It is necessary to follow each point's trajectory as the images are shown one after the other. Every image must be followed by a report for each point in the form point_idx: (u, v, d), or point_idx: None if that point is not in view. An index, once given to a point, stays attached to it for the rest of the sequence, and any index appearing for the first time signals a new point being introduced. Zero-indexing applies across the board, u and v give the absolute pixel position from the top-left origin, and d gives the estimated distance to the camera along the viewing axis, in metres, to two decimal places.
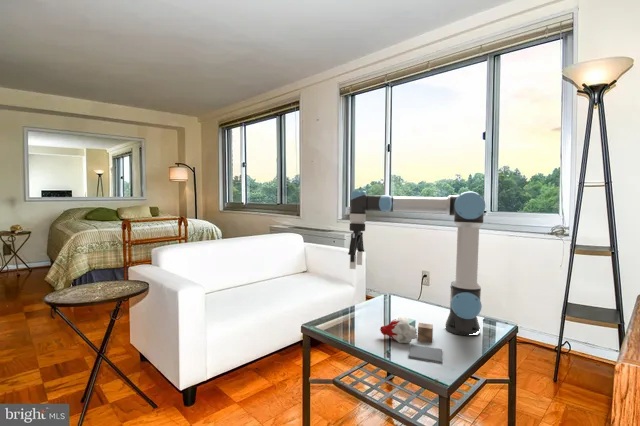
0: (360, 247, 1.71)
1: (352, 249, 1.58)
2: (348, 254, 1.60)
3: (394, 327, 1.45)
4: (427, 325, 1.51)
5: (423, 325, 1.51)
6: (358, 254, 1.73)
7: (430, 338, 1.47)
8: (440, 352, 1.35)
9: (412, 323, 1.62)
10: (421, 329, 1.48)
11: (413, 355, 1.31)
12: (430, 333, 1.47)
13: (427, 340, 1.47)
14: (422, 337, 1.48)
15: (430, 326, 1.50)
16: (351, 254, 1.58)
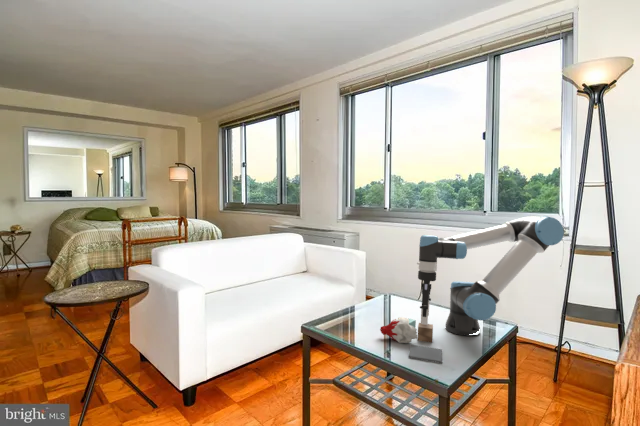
0: None
1: (425, 303, 1.41)
2: None
3: (394, 327, 1.45)
4: (427, 325, 1.51)
5: (423, 325, 1.51)
6: None
7: (430, 338, 1.47)
8: (440, 352, 1.35)
9: (412, 323, 1.62)
10: (421, 329, 1.48)
11: (413, 355, 1.31)
12: (430, 333, 1.47)
13: (427, 340, 1.47)
14: (422, 337, 1.48)
15: (430, 326, 1.50)
16: (423, 308, 1.42)
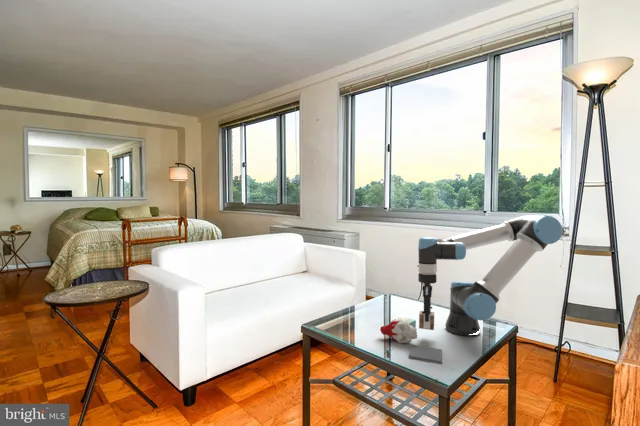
0: (429, 302, 1.53)
1: (427, 309, 1.44)
2: None
3: (394, 327, 1.45)
4: None
5: None
6: None
7: (431, 325, 1.47)
8: (440, 352, 1.35)
9: (412, 323, 1.62)
10: (422, 317, 1.48)
11: (413, 355, 1.31)
12: (431, 320, 1.47)
13: None
14: None
15: (431, 313, 1.50)
16: (426, 313, 1.46)
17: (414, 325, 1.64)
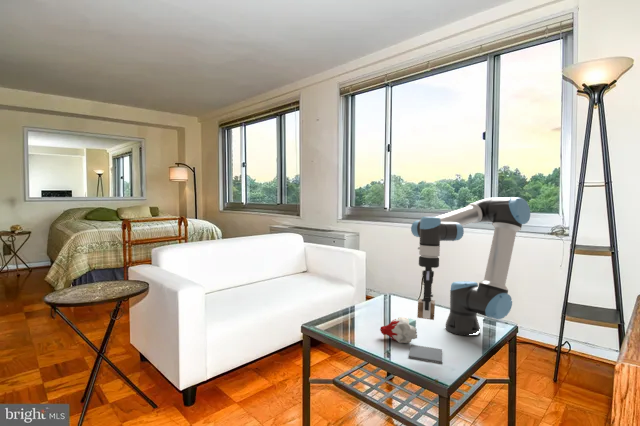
0: None
1: (427, 296, 1.28)
2: None
3: (394, 327, 1.45)
4: None
5: None
6: None
7: (432, 315, 1.31)
8: (440, 352, 1.35)
9: (412, 323, 1.62)
10: (421, 305, 1.32)
11: (413, 355, 1.31)
12: (432, 309, 1.31)
13: None
14: None
15: (432, 301, 1.34)
16: (426, 301, 1.29)
17: (414, 325, 1.63)
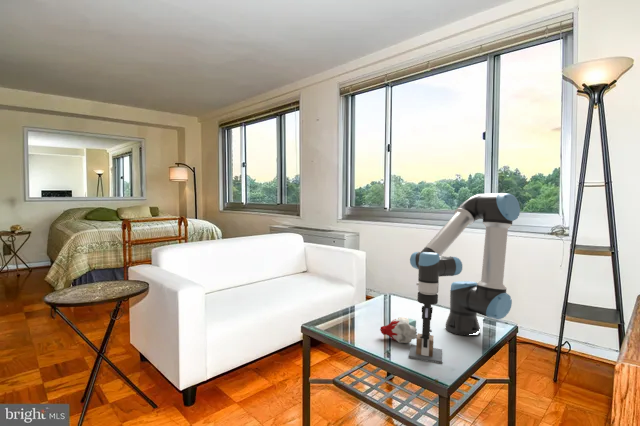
0: None
1: (426, 333, 1.28)
2: None
3: (394, 327, 1.45)
4: None
5: None
6: None
7: (430, 351, 1.31)
8: (440, 352, 1.35)
9: (412, 323, 1.62)
10: (420, 341, 1.32)
11: (413, 355, 1.31)
12: (430, 346, 1.31)
13: None
14: None
15: (430, 337, 1.34)
16: (424, 338, 1.29)
17: (414, 325, 1.63)
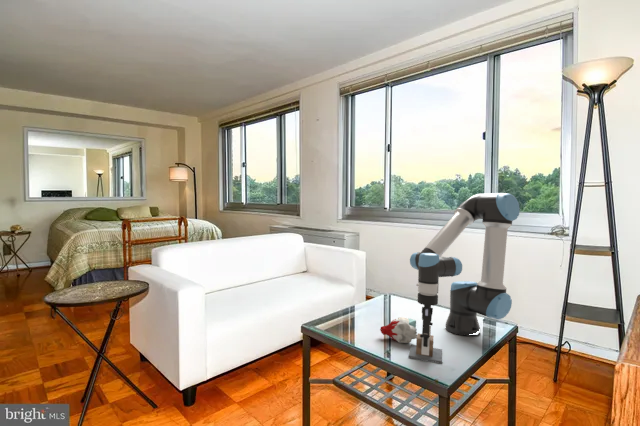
0: (429, 320, 1.39)
1: (426, 332, 1.25)
2: (420, 336, 1.27)
3: (394, 327, 1.45)
4: None
5: None
6: None
7: (430, 351, 1.31)
8: (440, 352, 1.35)
9: (412, 323, 1.62)
10: (420, 341, 1.32)
11: (413, 355, 1.31)
12: (430, 346, 1.31)
13: None
14: None
15: (430, 337, 1.34)
16: None
17: (414, 325, 1.63)
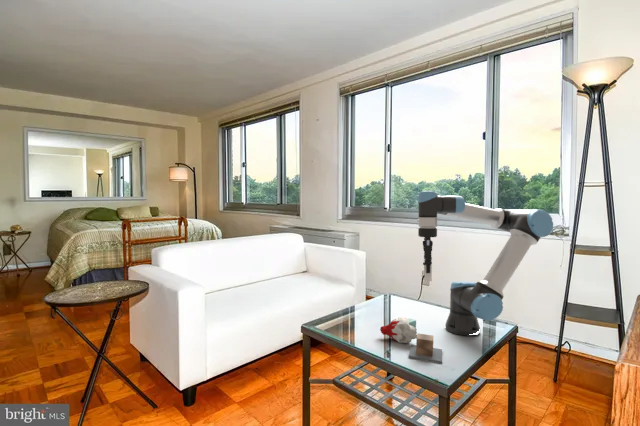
0: None
1: (429, 258, 1.37)
2: (423, 264, 1.39)
3: (394, 327, 1.45)
4: (427, 336, 1.35)
5: (423, 336, 1.34)
6: None
7: (430, 351, 1.31)
8: (440, 352, 1.35)
9: (412, 323, 1.62)
10: (420, 341, 1.32)
11: (413, 355, 1.31)
12: (430, 346, 1.31)
13: (427, 354, 1.31)
14: (422, 350, 1.32)
15: (430, 337, 1.34)
16: (427, 264, 1.38)
17: (414, 325, 1.63)
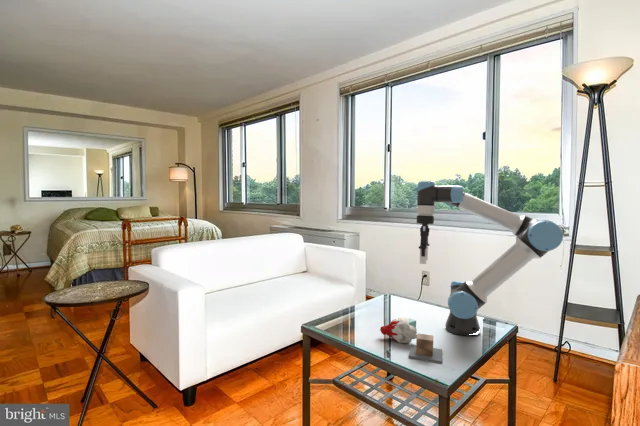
0: (426, 241, 1.62)
1: (424, 243, 1.48)
2: None
3: (394, 327, 1.45)
4: (427, 336, 1.35)
5: (423, 336, 1.34)
6: None
7: (430, 351, 1.31)
8: (440, 352, 1.35)
9: (411, 323, 1.62)
10: (420, 341, 1.32)
11: (413, 355, 1.31)
12: (430, 346, 1.31)
13: (427, 354, 1.31)
14: (422, 350, 1.32)
15: (430, 337, 1.34)
16: (422, 248, 1.49)
17: (414, 325, 1.63)
